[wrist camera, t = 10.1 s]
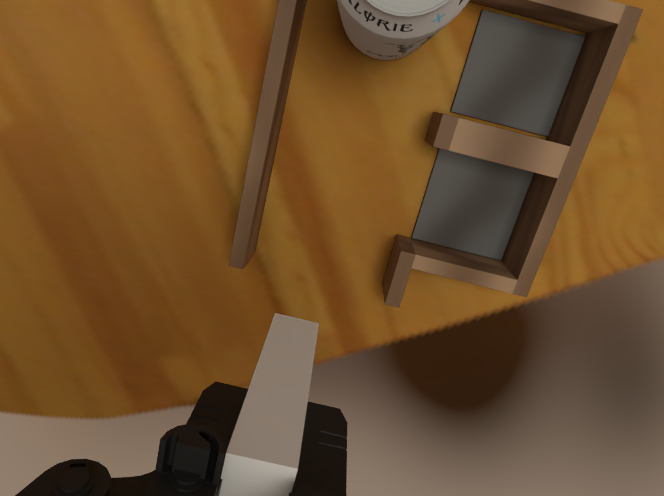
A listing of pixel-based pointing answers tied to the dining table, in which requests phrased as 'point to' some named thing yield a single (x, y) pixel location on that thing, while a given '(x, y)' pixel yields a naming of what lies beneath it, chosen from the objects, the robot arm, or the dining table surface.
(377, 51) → the energy drink can
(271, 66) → the trap lane
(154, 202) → the dining table surface
